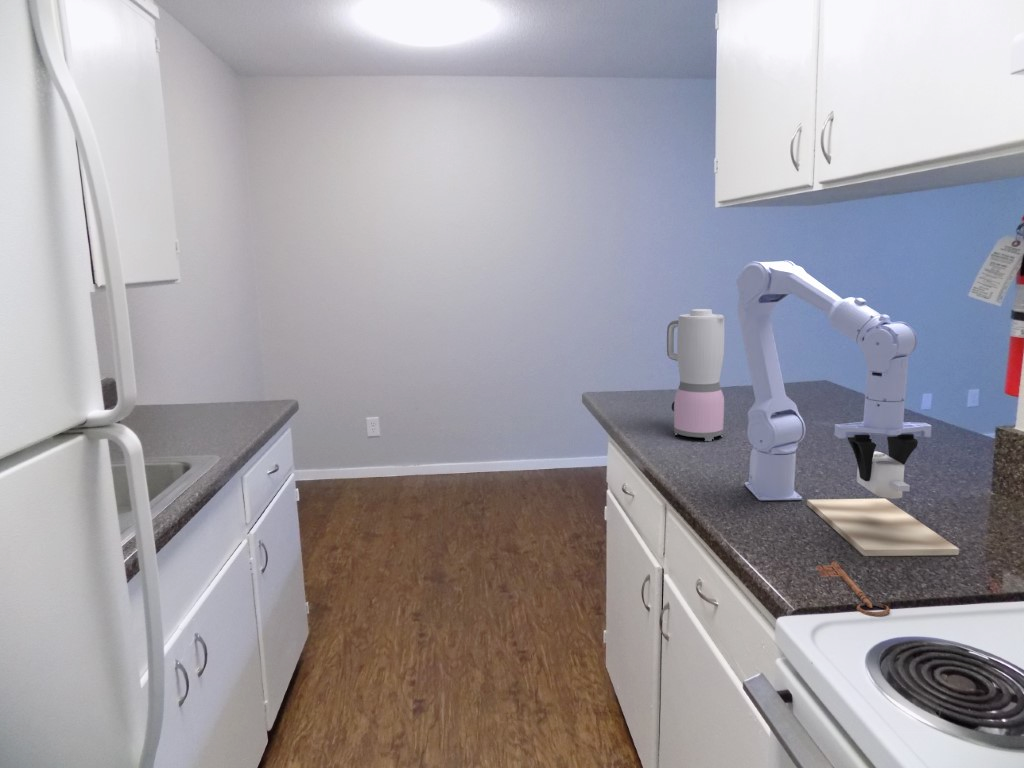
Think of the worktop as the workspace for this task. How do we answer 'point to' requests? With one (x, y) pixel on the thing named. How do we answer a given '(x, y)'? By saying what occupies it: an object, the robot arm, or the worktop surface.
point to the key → (853, 586)
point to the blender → (698, 373)
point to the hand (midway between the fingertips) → (878, 479)
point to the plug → (885, 477)
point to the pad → (880, 528)
